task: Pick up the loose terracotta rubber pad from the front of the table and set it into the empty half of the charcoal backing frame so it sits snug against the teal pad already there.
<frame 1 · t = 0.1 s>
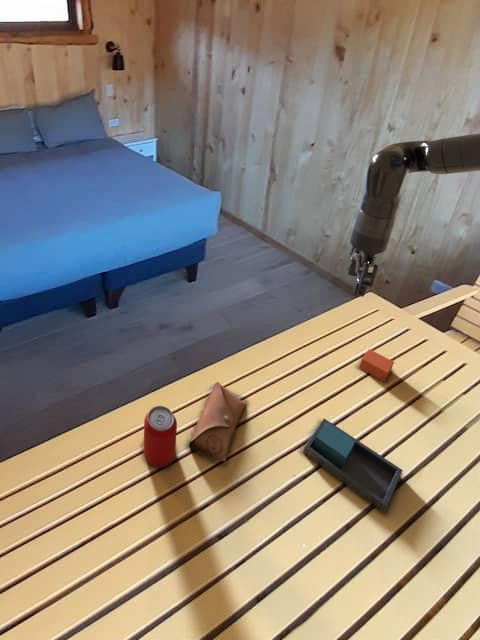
hand: (355, 284, 100), 23 cm above the table, tool pointing down, fingers open, 8 cm apart
loose pad: (373, 371, 105), on the table
beverage can: (159, 454, 87), on the table
sunglasses case: (218, 425, 92), on the table
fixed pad: (331, 450, 86), point 1 cm above the table, touching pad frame
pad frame: (349, 466, 84), on the table
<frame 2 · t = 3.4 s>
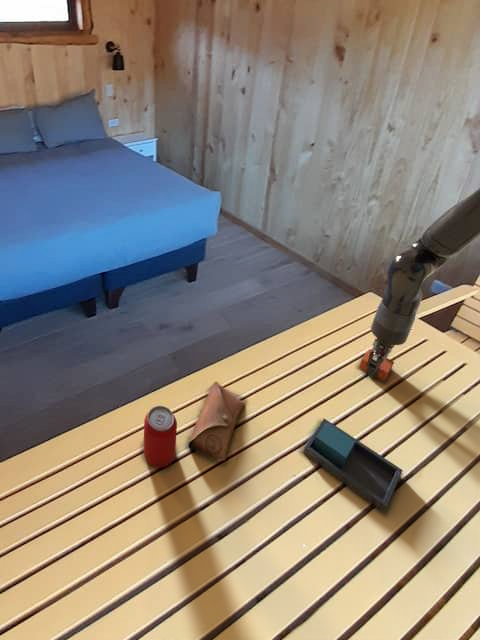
hand: (374, 369, 105), 1 cm above the table, tool pointing down, fingers closed on loose pad, 5 cm apart
loose pad: (373, 371, 105), on the table, touching gripper
everything else where it was.
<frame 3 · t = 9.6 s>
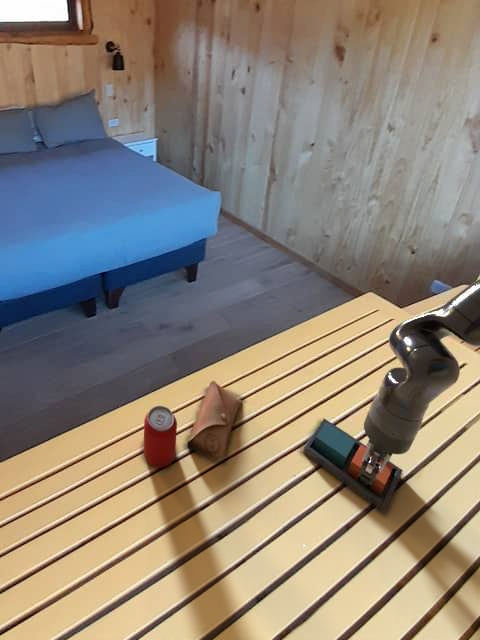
hand: (368, 474, 81), 2 cm above the table, tool pointing down, fingers closed on loose pad, 5 cm apart
loose pad: (367, 475, 81), point 1 cm above the table, touching gripper
everything else where it was.
when the fingers open (2 cm above the table, at t = 16.4 s): loose pad stays where it is, resting on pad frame.
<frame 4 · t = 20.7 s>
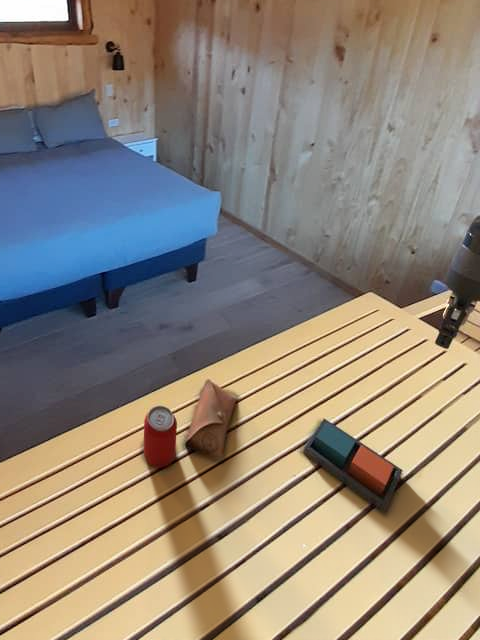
hand: (446, 334, 81), 26 cm above the table, tool pointing down, fingers open, 8 cm apart
loose pad: (367, 476, 81), point 1 cm above the table, touching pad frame
at the end: loose pad 0.4 cm from the target spot in the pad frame, point 0.8 cm above the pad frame's base; loose pad 7.1 cm from the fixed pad (horizontally); loose pad tilted 0° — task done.
